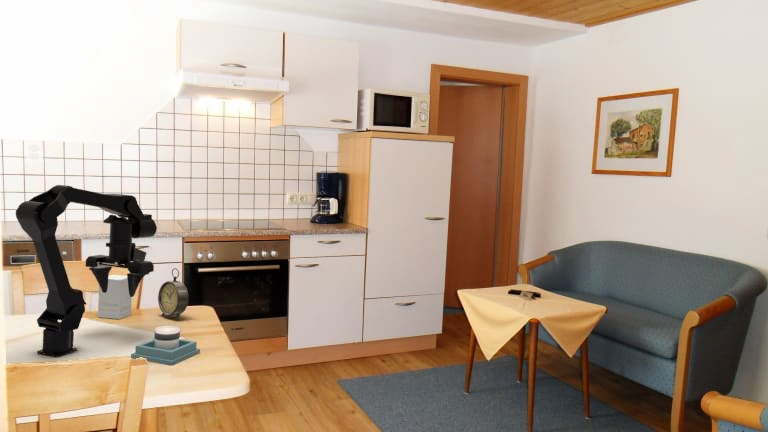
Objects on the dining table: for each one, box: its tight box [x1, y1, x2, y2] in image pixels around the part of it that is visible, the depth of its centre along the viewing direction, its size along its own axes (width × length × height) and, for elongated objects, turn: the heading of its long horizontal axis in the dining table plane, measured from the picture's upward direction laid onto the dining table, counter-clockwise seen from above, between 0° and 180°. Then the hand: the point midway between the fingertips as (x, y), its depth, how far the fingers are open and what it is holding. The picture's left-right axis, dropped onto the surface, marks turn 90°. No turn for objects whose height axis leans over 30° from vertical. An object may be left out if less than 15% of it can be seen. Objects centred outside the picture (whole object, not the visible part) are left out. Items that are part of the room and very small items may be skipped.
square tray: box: [130, 338, 201, 366], centre depth 151 cm, size 12×12×3 cm
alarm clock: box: [157, 267, 190, 321], centre depth 188 cm, size 11×5×16 cm, turn 54°
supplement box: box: [97, 274, 133, 320], centre depth 185 cm, size 7×7×13 cm
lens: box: [153, 325, 181, 351], centre depth 151 cm, size 6×6×6 cm
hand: (118, 294), depth 163 cm, fingers open, 9 cm apart
